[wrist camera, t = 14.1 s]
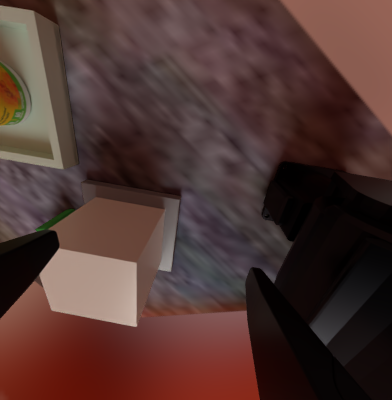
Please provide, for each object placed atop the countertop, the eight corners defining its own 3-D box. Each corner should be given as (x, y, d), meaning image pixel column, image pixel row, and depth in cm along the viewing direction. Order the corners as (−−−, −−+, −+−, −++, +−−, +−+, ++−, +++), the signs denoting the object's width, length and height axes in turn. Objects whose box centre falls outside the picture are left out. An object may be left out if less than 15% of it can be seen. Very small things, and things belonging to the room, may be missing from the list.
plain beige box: (181, 196, 20) (158, 250, 12) (172, 266, 25) (152, 339, 17) (86, 179, 20) (1, 221, 12) (96, 252, 25) (39, 317, 17)
